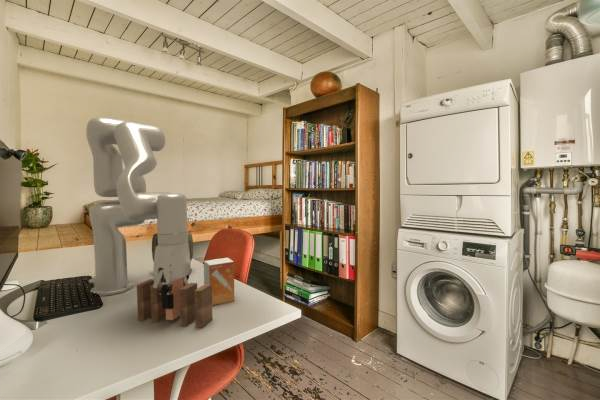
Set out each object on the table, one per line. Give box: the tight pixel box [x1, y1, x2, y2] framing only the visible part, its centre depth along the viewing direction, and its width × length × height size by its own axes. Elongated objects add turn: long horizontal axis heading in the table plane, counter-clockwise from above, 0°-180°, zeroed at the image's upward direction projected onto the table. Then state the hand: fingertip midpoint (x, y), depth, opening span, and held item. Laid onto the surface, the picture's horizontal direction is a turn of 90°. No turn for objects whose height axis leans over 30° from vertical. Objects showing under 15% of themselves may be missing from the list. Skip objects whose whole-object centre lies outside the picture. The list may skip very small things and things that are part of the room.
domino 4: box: [179, 282, 198, 327], centre depth 79 cm, size 2×5×10 cm, turn 166°
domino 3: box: [165, 278, 183, 321], centre depth 80 cm, size 2×5×10 cm, turn 166°
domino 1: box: [136, 278, 155, 322], centre depth 82 cm, size 2×5×10 cm, turn 166°
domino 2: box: [151, 285, 166, 324], centre depth 81 cm, size 2×5×10 cm, turn 167°
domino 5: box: [194, 283, 213, 329], centre depth 78 cm, size 2×5×10 cm, turn 166°
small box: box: [203, 257, 235, 307], centre depth 93 cm, size 8×6×13 cm
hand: (174, 303), depth 80 cm, fingers closed on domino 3, 4 cm apart
